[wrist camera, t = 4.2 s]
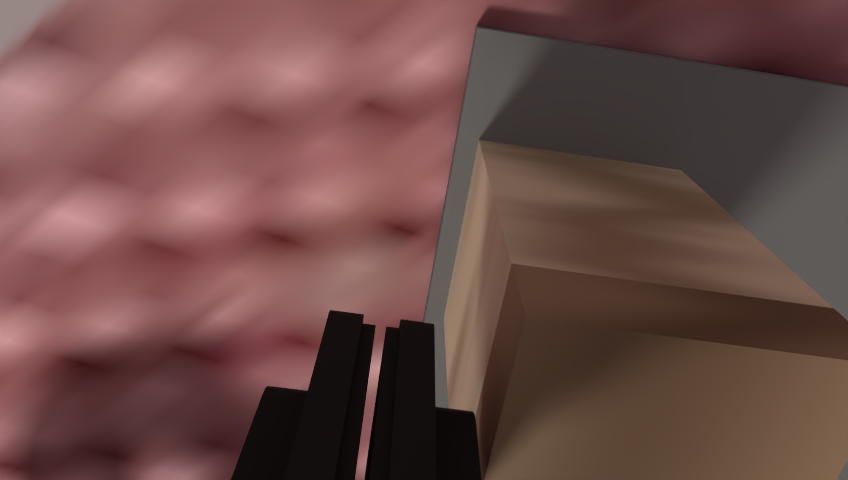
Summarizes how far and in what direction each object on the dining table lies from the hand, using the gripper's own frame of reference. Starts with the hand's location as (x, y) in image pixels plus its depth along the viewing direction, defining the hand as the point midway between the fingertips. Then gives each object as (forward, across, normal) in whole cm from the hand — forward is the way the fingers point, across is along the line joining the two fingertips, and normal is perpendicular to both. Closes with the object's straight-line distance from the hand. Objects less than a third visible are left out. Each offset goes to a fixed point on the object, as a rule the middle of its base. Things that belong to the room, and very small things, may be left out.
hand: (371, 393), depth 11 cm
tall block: (+7, -4, 0) cm, 8 cm away
